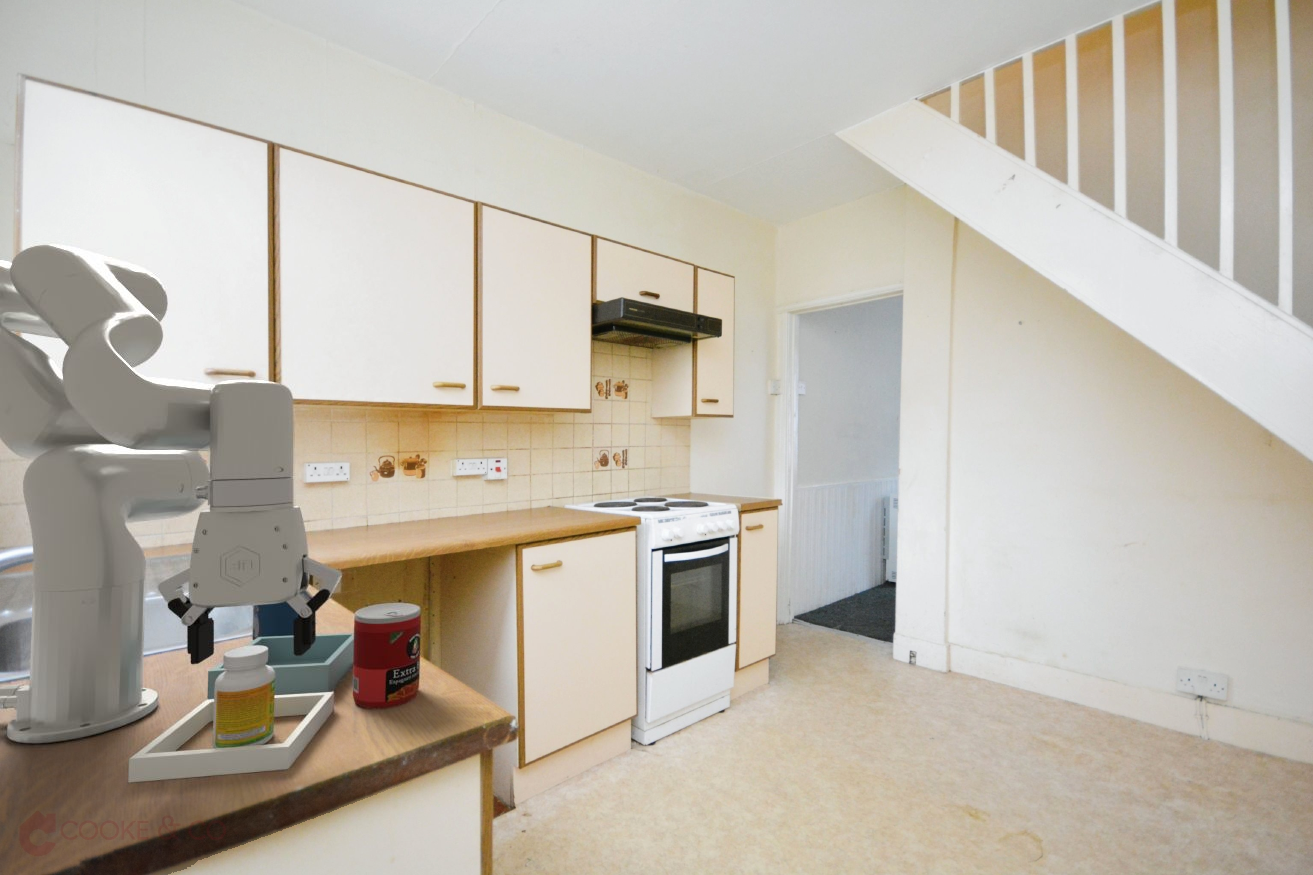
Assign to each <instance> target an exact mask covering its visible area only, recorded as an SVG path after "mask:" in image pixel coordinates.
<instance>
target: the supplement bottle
mask: <svg viewBox="0 0 1313 875" xmlns="http://www.w3.org/2000/svg"><path fill="white" fill-rule="evenodd" d="M222 661H223V666H224V669H226V671H225V672H223V673H222V674H220V675H219V676H218V678H217V679H216V681H215V687H214V719H213V721H212V722H213V726H212V747H213V748H212V749H215V748H228V747H242V746H255V745H265V744H266V743H268V742H269V741H270V740H271V739H272V738H273V735H274V729H275V717H274V697H275V671H274V669H273V668H272V667H270V666H268V665H265V663H267V661H268V648H267V647H266V646H259V645H255V646H246V645H244V646H240V647H236V648H233V649H232V648H231V649H229V650H227V651H226V652H224V654H223V660H222Z"/></svg>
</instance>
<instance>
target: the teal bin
mask: <svg viewBox="0 0 1313 875" xmlns="http://www.w3.org/2000/svg"><path fill="white" fill-rule="evenodd" d="M255 645H259V646H266V647H267V648H268V661H267V663H265V665H268V666H270V667H272V668H273V669H274V671H275V695H289V694H306V693H322V692H334V690H335V689H336V688H337V687H338V686H339V684H341V682H342V680H343V679H344V678H345V677H346V676H347V675H348V673H349V672H350V671H351V670H352V669H353V650H354V632H347V633H344V632H343V633H341V632H340V633H323V634H319V633H318V634H316V639H315V642H314V643H313V644H312V645H311V648H310V649H309V650H308V651H306V652H305V653H304V654H303V655H301V656H296V655H294V636H272V637H258V638H256V639H255V640H253V639H252V641H250V642H249V643H248V644H246V645H245V646H255ZM350 669H351V670H350ZM225 671H226V669H224V666H223V660H222V661H221V662H219V663H218V664H217V665H216V666H214V667H212V668H211V669H209V670H208V671H207V672H208V673H207V699H214V687H215V681H216V679H217V678H218V676H219V675H220V674H222V673H223V672H225ZM335 687H336V688H335ZM207 699H206V700H207Z"/></svg>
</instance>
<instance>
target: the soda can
mask: <svg viewBox="0 0 1313 875" xmlns="http://www.w3.org/2000/svg"><path fill="white" fill-rule="evenodd" d="M252 606H253V607H252V634H251V636H252V637H251V640H252V641H253V640H255V639H256V638H258V637H272V636H294V619H296V618H297V617H298V613H297V612H296V611H295V610H294V609H293V608H292V607H291V606H290V605H289V604H288V603H287V602H286V601H285V602H282V603H276V604H264V605H252Z"/></svg>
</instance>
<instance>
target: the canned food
mask: <svg viewBox="0 0 1313 875" xmlns="http://www.w3.org/2000/svg"><path fill="white" fill-rule="evenodd" d="M421 620H422V612H421V607H420V606H419V605H417V604H414V603H409V602H408V603H407V602H388V603H385V602H384V603H378V604H373V605H368V606H365V607H362V608H360V609H357V610H356V611H355V612H354V620H353V633H354V650H353V667H352V698H353V701H354V703H355V704H356V705H357V706H359V707H362V708H365V709H376V710H377V709H387V708H388V709H389V708H393V707H397V706H401V705H403V704H404V705H405V704H407V703H408V702H410V701H411V700H413V699H414V698H416V696H417V695H418V691H419V688H420V669H421V667H420V665H421V664H420V663H421V637H422V636H421V634H422V633H421V629H422V628H421V627H422V626H421V625H422V621H421Z"/></svg>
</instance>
